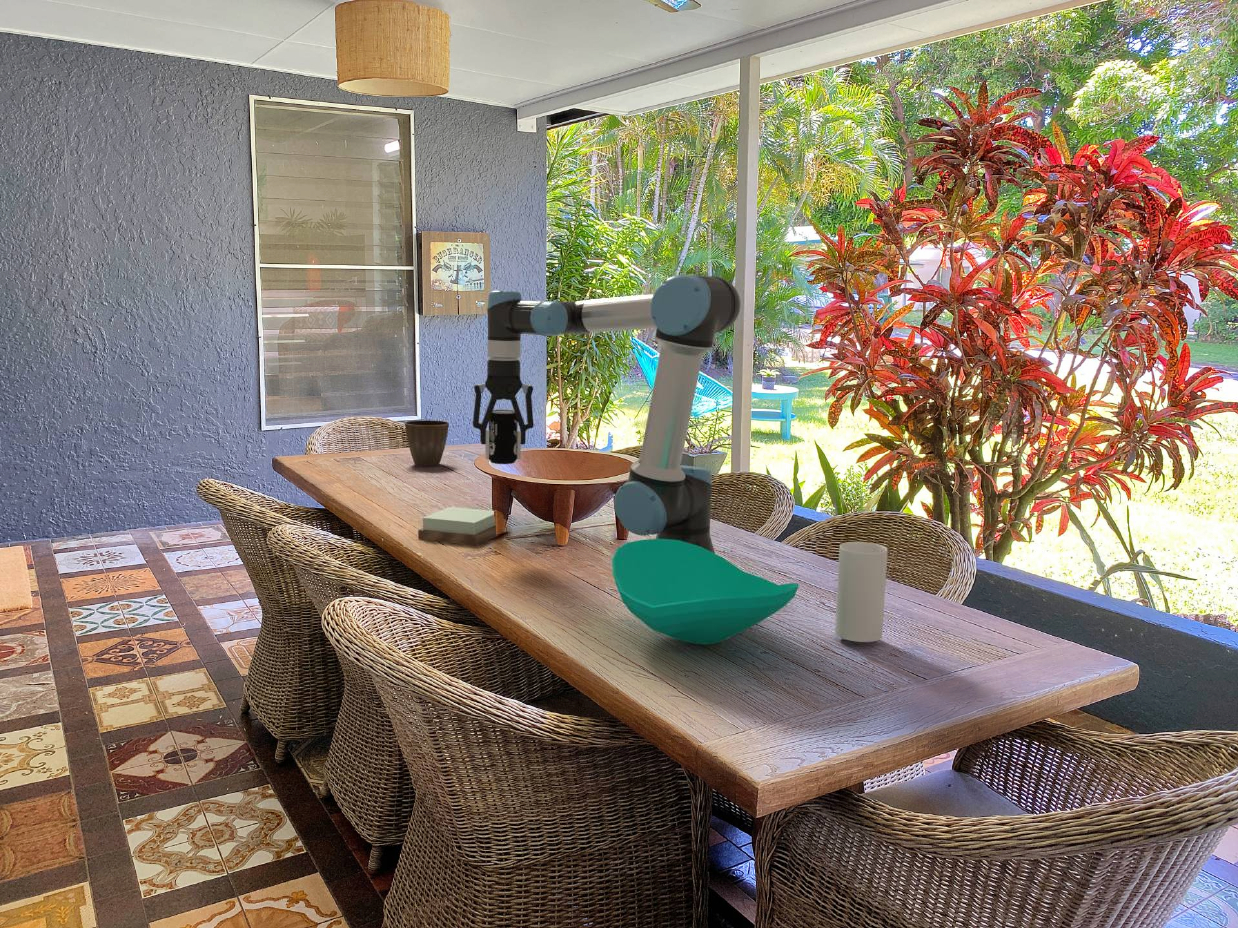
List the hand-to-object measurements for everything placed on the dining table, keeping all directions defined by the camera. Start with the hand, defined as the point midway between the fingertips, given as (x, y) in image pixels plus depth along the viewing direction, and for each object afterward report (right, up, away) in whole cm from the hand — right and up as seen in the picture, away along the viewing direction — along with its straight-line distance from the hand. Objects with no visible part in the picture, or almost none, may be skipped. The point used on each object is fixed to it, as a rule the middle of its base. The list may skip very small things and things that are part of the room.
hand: (502, 458), depth 228 cm
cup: (+70, -32, -53) cm, 93 cm away
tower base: (-12, -20, +15) cm, 28 cm away
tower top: (-12, -17, +15) cm, 25 cm away
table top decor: (+41, -32, -56) cm, 77 cm away
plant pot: (-39, -3, +112) cm, 119 cm away
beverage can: (0, -1, 0) cm, 1 cm away
